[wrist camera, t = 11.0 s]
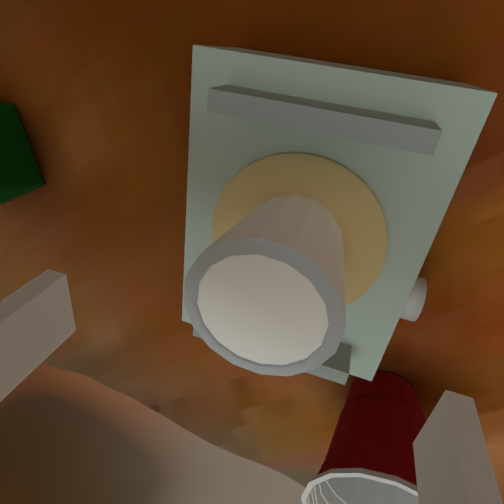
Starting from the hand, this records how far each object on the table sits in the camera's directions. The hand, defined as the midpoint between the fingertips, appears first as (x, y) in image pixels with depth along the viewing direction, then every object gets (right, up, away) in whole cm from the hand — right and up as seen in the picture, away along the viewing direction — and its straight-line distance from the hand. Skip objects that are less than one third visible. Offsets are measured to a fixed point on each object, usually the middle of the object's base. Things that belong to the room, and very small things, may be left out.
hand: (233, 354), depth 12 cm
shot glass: (+3, +4, +8) cm, 10 cm away
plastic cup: (+13, -9, +21) cm, 27 cm away
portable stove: (+5, +7, +15) cm, 17 cm away
